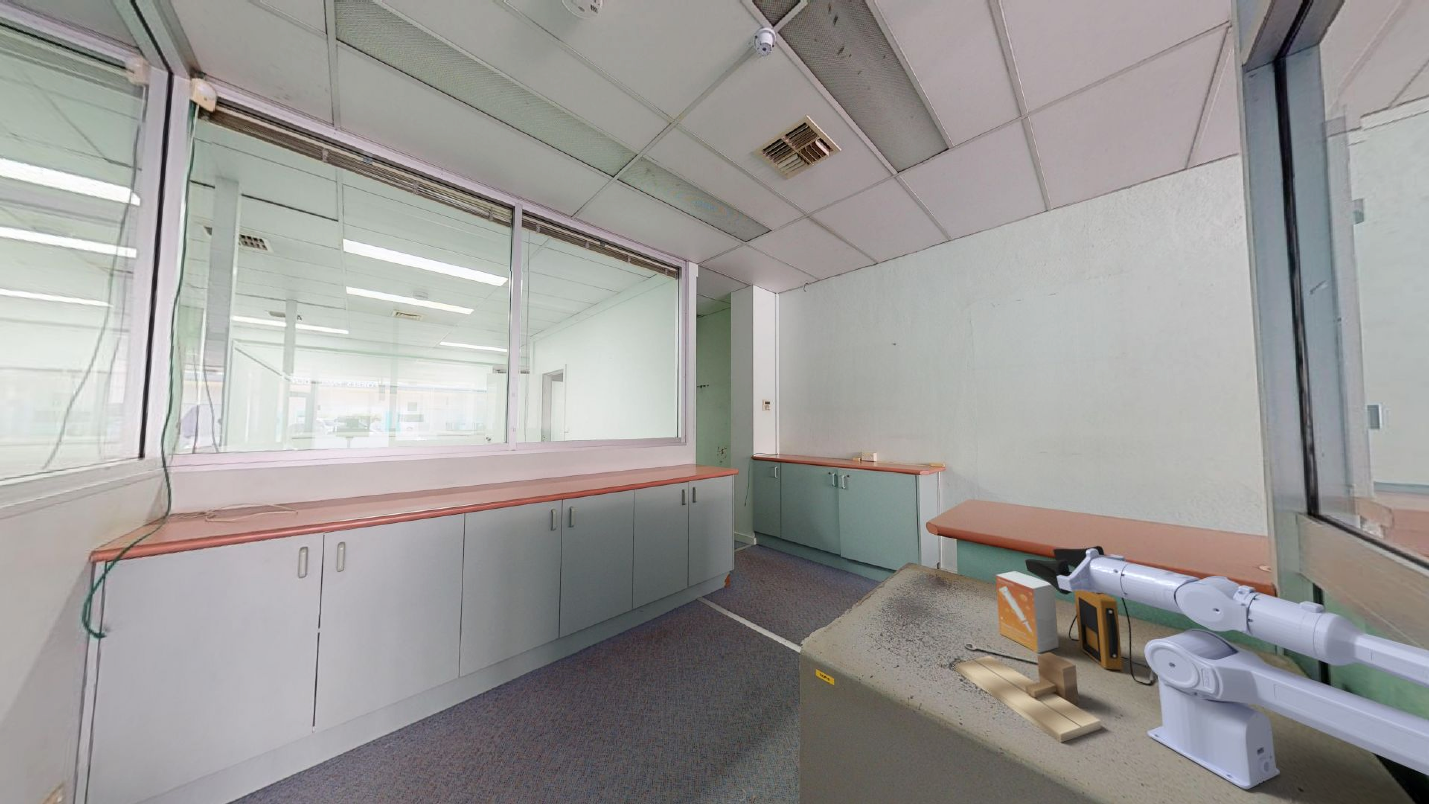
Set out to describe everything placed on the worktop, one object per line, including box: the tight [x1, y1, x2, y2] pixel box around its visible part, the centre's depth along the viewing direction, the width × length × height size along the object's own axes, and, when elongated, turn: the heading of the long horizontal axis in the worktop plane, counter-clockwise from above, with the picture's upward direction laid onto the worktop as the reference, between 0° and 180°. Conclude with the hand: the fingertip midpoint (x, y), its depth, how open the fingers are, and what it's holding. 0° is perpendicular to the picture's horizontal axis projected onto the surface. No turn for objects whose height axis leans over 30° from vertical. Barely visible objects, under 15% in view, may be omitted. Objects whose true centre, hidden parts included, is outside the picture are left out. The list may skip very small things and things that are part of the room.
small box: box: [995, 570, 1059, 654], centre depth 85 cm, size 8×6×13 cm
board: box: [954, 655, 1102, 743], centre depth 68 cm, size 18×8×1 cm, turn 16°
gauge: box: [1025, 651, 1079, 705], centre depth 67 cm, size 4×8×6 cm, turn 106°
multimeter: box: [1068, 567, 1155, 686], centre depth 77 cm, size 15×10×20 cm
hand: (1041, 559), depth 76 cm, fingers open, 7 cm apart
